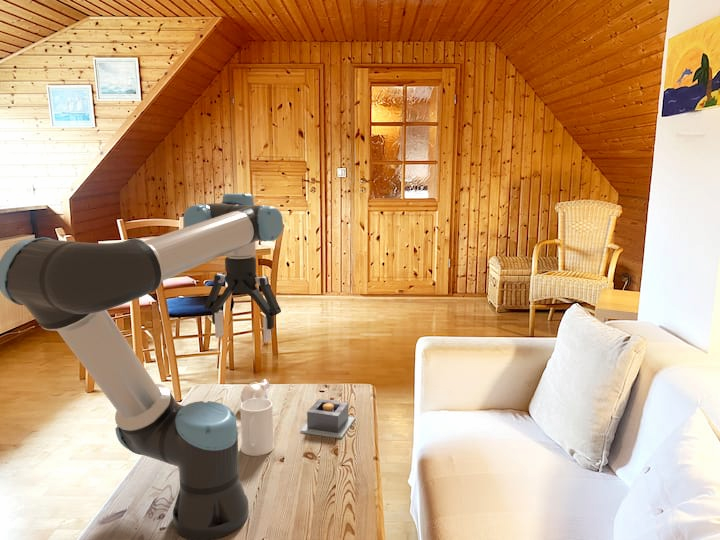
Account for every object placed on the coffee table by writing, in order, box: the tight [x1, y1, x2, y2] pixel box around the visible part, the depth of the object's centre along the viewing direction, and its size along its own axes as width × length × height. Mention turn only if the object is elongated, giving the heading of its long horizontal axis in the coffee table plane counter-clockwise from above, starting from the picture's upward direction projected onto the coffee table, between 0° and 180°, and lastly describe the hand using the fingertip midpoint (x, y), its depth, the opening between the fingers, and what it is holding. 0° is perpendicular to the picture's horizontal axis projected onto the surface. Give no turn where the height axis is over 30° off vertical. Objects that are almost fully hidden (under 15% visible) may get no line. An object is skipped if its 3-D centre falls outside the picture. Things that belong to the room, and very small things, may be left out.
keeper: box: [300, 403, 356, 439], centre depth 153 cm, size 12×12×6 cm
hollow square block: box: [306, 398, 349, 433], centre depth 153 cm, size 9×9×5 cm
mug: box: [239, 398, 275, 457], centre depth 139 cm, size 12×8×12 cm
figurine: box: [240, 378, 271, 404], centre depth 169 cm, size 11×7×15 cm
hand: (243, 338), depth 139 cm, fingers open, 13 cm apart
